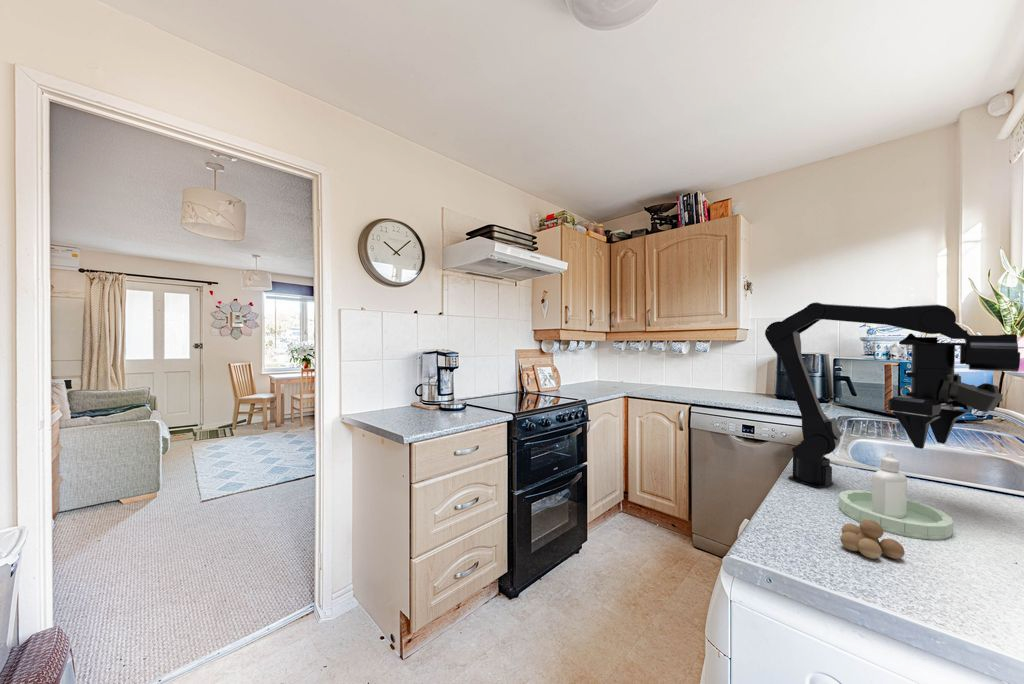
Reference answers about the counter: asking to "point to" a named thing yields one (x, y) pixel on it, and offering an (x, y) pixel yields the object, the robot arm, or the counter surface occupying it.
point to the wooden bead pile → (870, 540)
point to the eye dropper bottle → (889, 489)
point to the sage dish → (915, 524)
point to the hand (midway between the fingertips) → (930, 445)
